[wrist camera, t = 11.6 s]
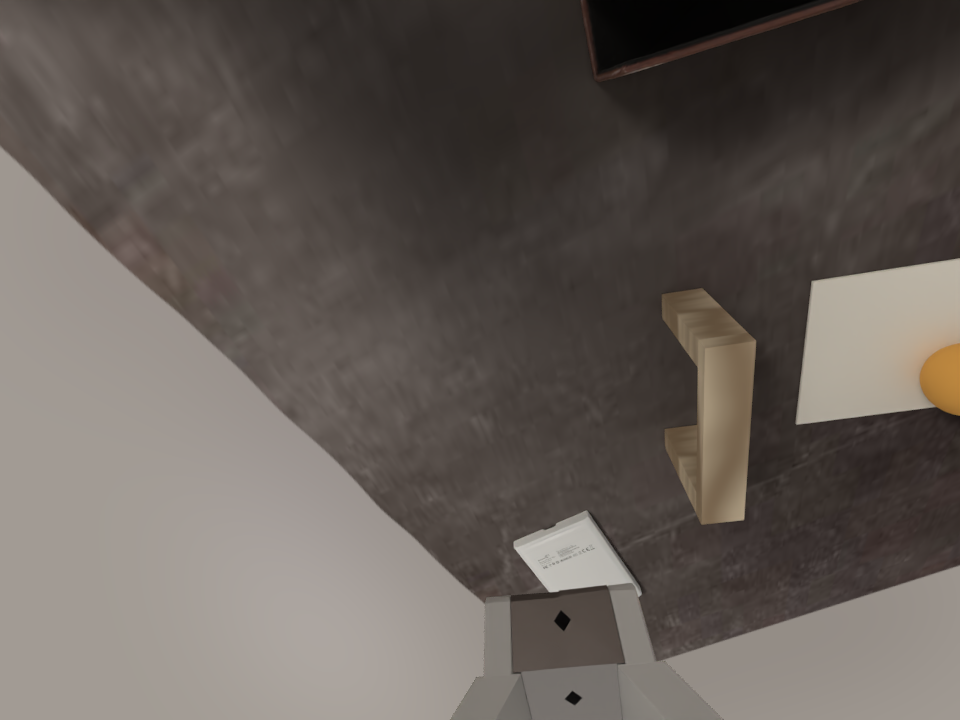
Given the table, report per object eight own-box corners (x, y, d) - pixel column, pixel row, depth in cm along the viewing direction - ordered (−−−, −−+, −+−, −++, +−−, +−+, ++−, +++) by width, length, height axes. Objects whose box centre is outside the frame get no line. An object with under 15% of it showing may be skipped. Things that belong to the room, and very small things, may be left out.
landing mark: (795, 423, 45) (796, 424, 45) (811, 280, 40) (813, 281, 39) (957, 402, 44) (959, 404, 44) (999, 252, 38) (1002, 252, 38)
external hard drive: (569, 608, 58) (512, 537, 53) (639, 582, 56) (586, 506, 51) (571, 622, 57) (513, 550, 52) (643, 596, 54) (589, 518, 50)
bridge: (665, 447, 47) (701, 524, 39) (661, 294, 40) (704, 348, 32) (699, 443, 47) (744, 520, 38) (702, 287, 40) (756, 341, 32)
